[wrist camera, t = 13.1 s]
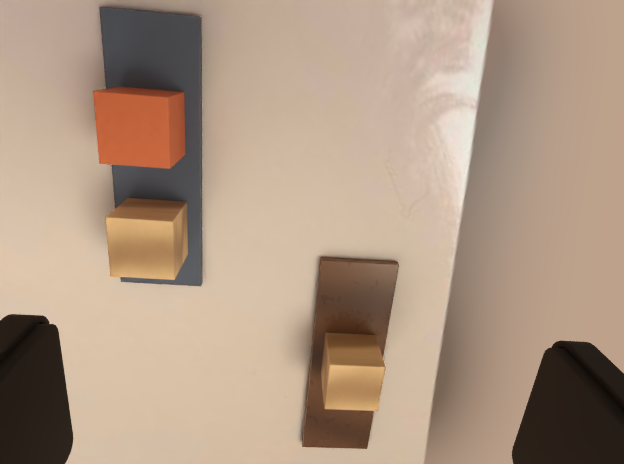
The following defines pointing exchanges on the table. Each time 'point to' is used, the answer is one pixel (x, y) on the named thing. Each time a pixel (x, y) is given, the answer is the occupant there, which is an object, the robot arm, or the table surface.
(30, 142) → the table surface
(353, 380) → the light wood cube
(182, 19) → the word strip near
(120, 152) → the orange cube
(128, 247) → the tan wooden cube
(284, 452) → the table surface
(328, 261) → the word strip far
